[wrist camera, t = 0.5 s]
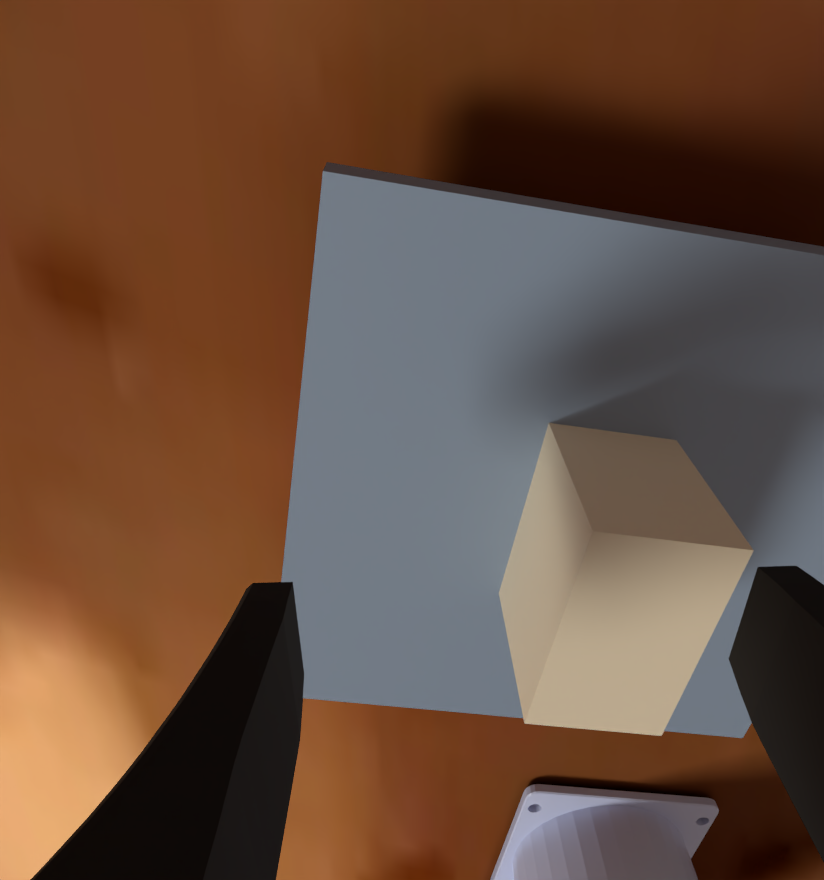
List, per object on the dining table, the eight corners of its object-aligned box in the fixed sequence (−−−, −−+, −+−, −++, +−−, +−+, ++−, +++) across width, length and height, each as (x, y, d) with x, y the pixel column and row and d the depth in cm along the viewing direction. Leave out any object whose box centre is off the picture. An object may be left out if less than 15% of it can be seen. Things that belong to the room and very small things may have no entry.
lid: (728, 710, 23) (810, 874, 18) (274, 667, 21) (245, 834, 17) (971, 271, 16) (1193, 364, 11) (326, 162, 14) (300, 221, 10)
